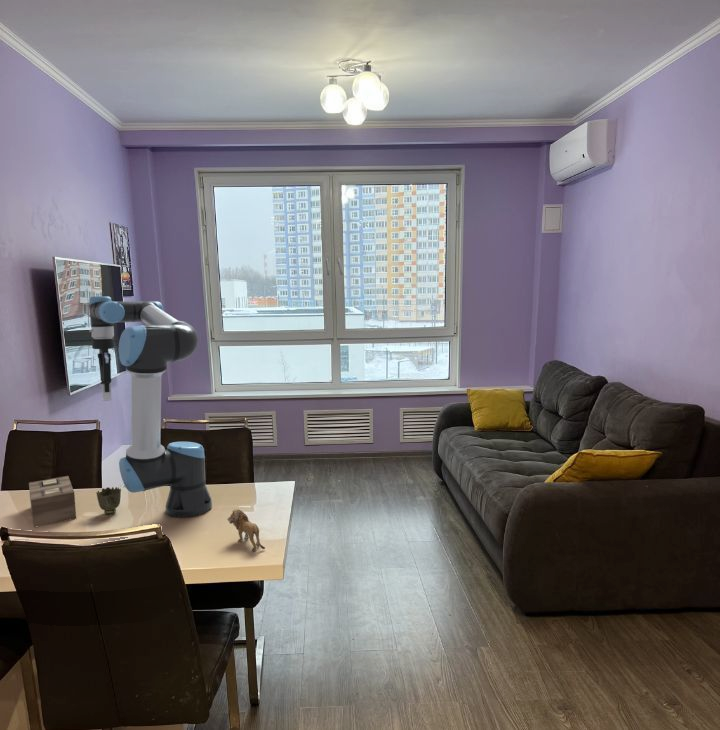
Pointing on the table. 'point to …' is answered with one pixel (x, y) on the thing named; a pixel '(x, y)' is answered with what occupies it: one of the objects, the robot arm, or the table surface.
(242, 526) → the lion figurine
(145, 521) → the table surface
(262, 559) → the table surface
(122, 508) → the table surface
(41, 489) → the wooden box
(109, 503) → the cup
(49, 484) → the peg
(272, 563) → the table surface
